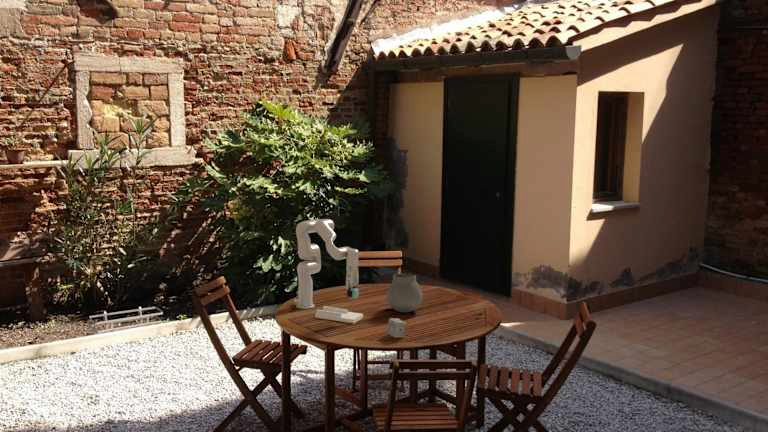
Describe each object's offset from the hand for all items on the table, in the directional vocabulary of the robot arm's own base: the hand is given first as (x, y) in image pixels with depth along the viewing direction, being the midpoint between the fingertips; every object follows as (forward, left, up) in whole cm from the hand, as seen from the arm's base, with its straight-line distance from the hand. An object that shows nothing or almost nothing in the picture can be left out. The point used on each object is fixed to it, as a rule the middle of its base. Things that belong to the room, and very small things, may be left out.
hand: (351, 295), depth 456 cm
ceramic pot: (+23, +34, -16) cm, 44 cm away
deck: (-9, 0, -16) cm, 18 cm away
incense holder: (+39, -18, -16) cm, 46 cm away
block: (+1, 0, -1) cm, 2 cm away
